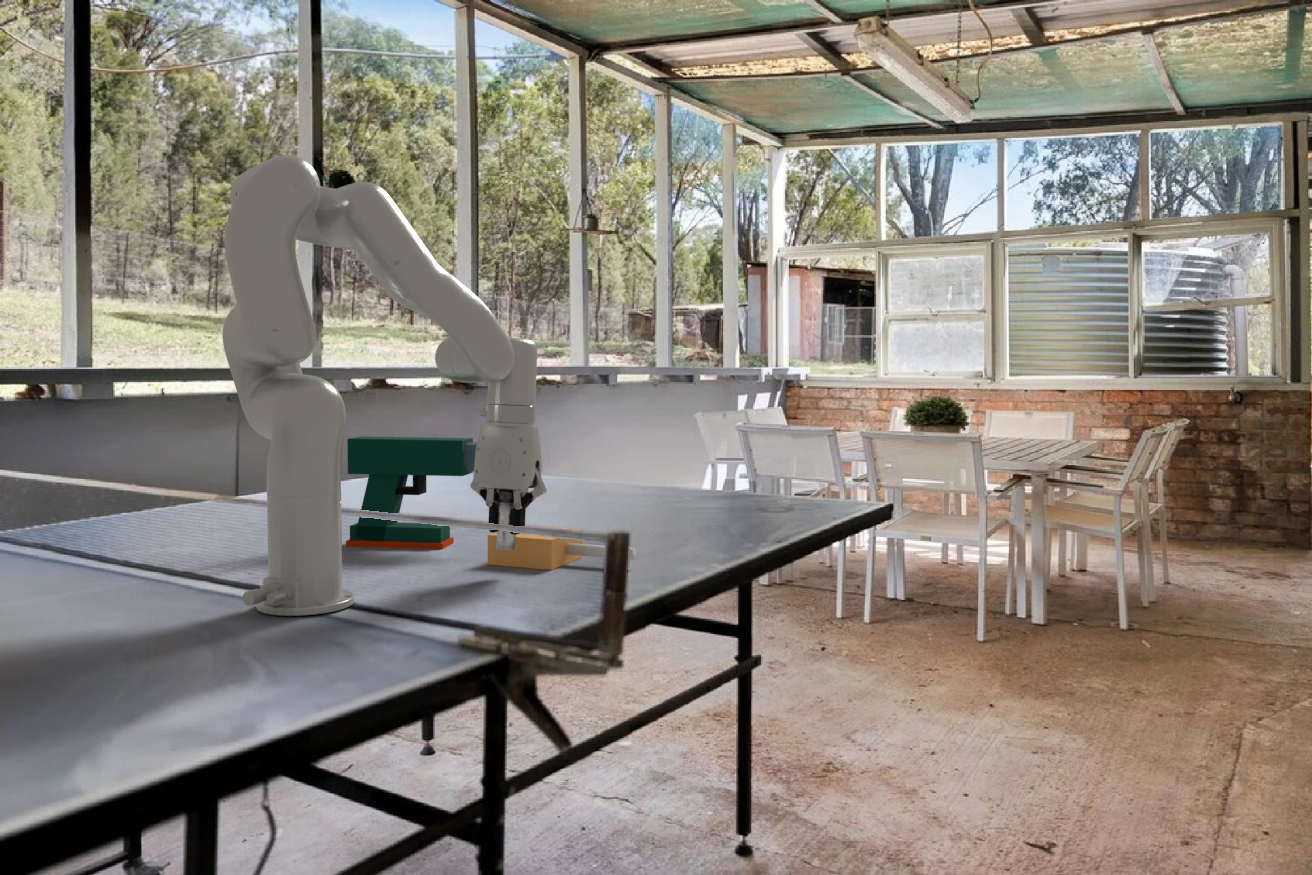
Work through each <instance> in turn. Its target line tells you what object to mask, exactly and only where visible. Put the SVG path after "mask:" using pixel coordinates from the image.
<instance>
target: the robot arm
mask: <svg viewBox="0 0 1312 875" xmlns="http://www.w3.org/2000/svg"><path fill="white" fill-rule="evenodd" d="M229 194H230V198H229V200H230V204H231V209H230V211H229V214H228V218H227V221H226V226H225V232H224V253H225V254H224V255H225V259H226V260H225V261H226V265H227V269H228V273H229V278H230V281H231V287H232V289H233V294H234V298H235V301H236V305H235V306H234V307H233V308H232V309H231V310H230V311H229V312H228V314H227V316H226V318H225V320H224V323H223V327H222V344H223V345H222V346H223V350H224V353H225V356H226V361H227V363H228V364H227V365H228V367H229V370H230V374H231V377H232V379H233V380H232V381H233V383H234V387H235V389H236V390H235V391H236V393H237V396H238V400H239V403H240V407H241V409H242V411H243V414H244V417H245V419H246V421H247V423H248V424H249V426H250V427H251V428H252V429H253V431H254V432H256V433H257V434H258V435H259V436H261V437H263V438H265V439H267V440H270V442H269V443H270V444H269V449H268V456H267V462H266V463H267V465H266V514H267V515H266V516H267V519H266V520H267V524H266V525H267V526H266V527H267V569H268V570H267V574H268V576H267V577H262V579H263V580H262V583H263V584H262V585H261V586H260V588H254V589H250V590H247V591H244V593H243V595H242V602H243V603H244V604H245V606H247V607H250V606H255V608H256V611H259V612H260V613H261V614H265V615H272V616H284V617H294V616H295V617H298V616H299V617H300V616H301V617H302V616H311V615H313V616H315V615H319V614H321V615H322V614H327V613H333V612H338V611H342V610H345V609H346V608H348V607H350V606H352V605H353V604H354V602H355V594H354V593H353V592H352V591H350V590H348V589H343V540H342V537H343V536H342V535H343V532H342V530H343V529H342V525H343V524H342V523H343V522H342V518H343V517H342V471H341V470H342V457H343V456H342V455H343V454H342V453H343V445H344V440H345V432H346V425H347V424H346V423H347V412H346V411H347V410H346V405H345V402H344V400H343V397H342V394H341V393H340V392H339V390H338V389H337V388H336V387H335V386H334V385H333V384H332V383H330V382H329V381H328V380H326V379H324V378H322V377H320V376H316V375H312V374H304V373H303V370H302V366H301V363H303V362H304V361H305V360H307V359H308V358H309V357H310V356H311V355H312V353H313V352H314V350H315V348H316V343H317V333H316V332H317V331H316V326H315V323H314V318H313V315H312V312H311V309H310V305H309V301H308V298H307V294H306V292H305V288H304V284H303V281H302V277H301V273H300V270H299V264H298V261H297V260H298V259H297V254H296V253H297V252H296V251H297V250H296V244H297V241H299V242H300V241H301V242H305V243H308V244H309V243H310V244H313V245H318V246H323V247H330V248H335V249H350V248H352V249H353V250H354V251H355V253H356V254H357V255H358V256H359V257H360V259H361V260H362V262H363V263H364V264H365V265H366V267H367V268H368V270H369V272H371V273H372V275H373V276H374V277H375V279H376V280H377V282H378V283H379V284H380V286H381V287H382V288H383V289H384V291H385V293H386V294H387V295H388V297H390V299H392V300H393V301H394V302H396V303H397V304H399V305H401V307H403V308H406V309H407V310H410V311H413V312H415V313H417V314H419V315H421V316H423V317H425V318H427V319H428V320H429V321H431V322H433V323H434V324H436V325H437V326H438V327H439V328H440V329H442V331H444V332H445V333H446V334H447V336H448V337H445V338H444V339H443V340H442V341H441V342H440V343H439V344H438V346H437V348H436V350H435V355H434V359H435V360H434V361H435V364H436V367H437V370H438V371H439V372H440V373H441V374H442V375H443V377H445V378H446V379H448V380H451V381H453V382H457V383H466V384H467V383H468V384H469V383H470V384H471V383H485V384H487V398H486V399H487V401H486V403H487V404H485V406H486V407H485V408H483V407H481V409H480V416H481V417H485V421H486V424H481V425H480V428H479V429H480V430H479V431H478V432H479V433H478V436H477V446H476V453H475V462H474V472H473V476H472V477H473V478H472V481H471V483H470V485H469V487H470V489H472V490H473V491H474V492H476V493H478V494H479V495H480V497H481V498H482V500H484V502H485V505H486V507H488V522H487V523H494V524H497V515H498V489H511V490H513V492H514V509H512V510H511V518H510V525H513V526H525V525H526V509H528V508H529V506H530V504H532V503H533V502H534V501H535V500H536V499H538V498H540V497H542V496H543V495H545V494H547V492H548V490H547V488H546V486H545V483H544V481H543V477H542V474H543V473H542V470H543V469H542V468H543V466H542V464H543V462H542V445H541V438H540V431H539V427H538V426H535V423H536V422H535V420H536V419H535V418H536V416H535V415H536V396H537V395H536V391H537V368H538V367H537V366H538V364H537V363H538V347H537V344H536V343H535V342H534V341H533V340H531V339H527V338H519V337H509V336H508V335H507V332H506V331H505V329H504V328H503V327H502V325H501V324H500V322H499V321H498V319H497V318H496V316H495V315H494V314H493V312H492V311H491V310H490V308H489V307H488V306H487V305H486V304H485V303H484V301H482V300H481V299H480V298H479V297H478V296H477V295H476V294H475V293H474V292H473V291H471V289H469V288H468V287H467V286H465V285H464V284H463V283H462V282H461V281H460V280H458V279H457V278H456V277H455V276H453V275H452V274H451V273H450V272H449V271H447V270H446V269H444V268H443V267H442V266H441V265H440V264H439V262H437V260H436V259H435V257H434V256H433V255H432V253H431V252H430V250H429V249H428V247H427V246H426V244H425V243H424V242H423V241H422V240H423V239H421V237H420V236H419V235H418V234H417V232H416V231H415V229H414V228H413V226H412V224H411V223H410V222H409V220H408V218H406V216H405V215H404V213H403V212H402V211H401V209H400V208H399V206H398V205H397V203H396V202H395V201H394V199H393V198H392V197H391V195H390V194H389V193H388V192H387V191H386V190H385V189H384V188H383V187H381V185H379V184H376V183H374V182H369V181H359V182H353V183H350V184H346V185H343V186H340V187H338V188H334V187H326V186H322V185H321V182H320V179H319V176H318V173H317V171H316V170H315V168H314V167H313V165H312V164H311V163H309V162H308V161H307V160H305V159H303V158H302V157H299V156H296V155H289V154H286V155H285V154H283V155H278V156H273V157H270V158H269V159H265V160H264V161H262V162H260V163H257V165H254V166H252V167H250V168H248V169H246V170H245V171H244V172H242V173H241V174H239V175H238V176H237V178H235V180H234V181H233V184H232V185H231V189H230V192H229ZM529 489H533V490H531V491H529ZM496 532H497V530H490V529H489V533H491V534H493V533H496ZM510 533H511V534H512V535H516V534H520V533H513V532H510Z"/></svg>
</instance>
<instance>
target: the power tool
mask: <svg viewBox="0 0 1312 875" xmlns="http://www.w3.org/2000/svg"><path fill="white" fill-rule="evenodd" d="M473 438H474V437H473ZM473 438H472V437H471V438H470V437H426V436H424V437H423V436H421V437H420V436H419V437H416V436H414V437H413V436H407V437H406V436H357V437H351V438H350V437H349V438H347V474H348V475H368V477H367V482H366V486H365V491H364V495H363V499H362V504H361V508H360V511H361V510H369V511H379V512H388V513H399V514H400V512H401V508H402V503H403V498H404V496H407V495H408V496H420V495H423V494H425V493H427V476H432V477H433V476H434V477H435V476H436V477H440V476H441V477H442V476H443V477H464V476H467V475H469V474H474V462H475V453H476V446H477V442H474V441H473V440H474V439H473ZM409 476H412V486H410V485H407V482H408V478H409ZM421 523H422V522H398V521H391V520H381V519H374V518H361V517H359V516H358V520H357V523H354V524H352V525H349V539H347V540H345V547H349V548H378V549H379V548H381V549H382V548H383V549H385V548H388V549H416V550H418V549H419V550H420V549H421V550H423V549H424V550H444V549H446V548H448V547H450V546H451V545H453V544H454V539H455V538H454V537H453V536H452V537H451V526H450V527H449V526H437V525H431V524H421Z"/></svg>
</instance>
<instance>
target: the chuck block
mask: <svg viewBox="0 0 1312 875" xmlns="http://www.w3.org/2000/svg"><path fill="white" fill-rule="evenodd" d="M525 526H532V525H530V524H529V525H527V524H525ZM539 526H540V527H546V526H543V525H539ZM552 527H553V528H560V526H559V527H557V526H556V527H555V526H552ZM561 528H562V529H572V530H583V528H571V527H561ZM496 542H497V532H494V533H489V534H487V565H489V566H490V565H491V566H502V567H503V566H504V567H512V568H525V569H536V570H545V571H547V570H549V571H553V570H555V569H557V568H558V569H559V568H560V567H563V566H565V565H567V564H570V563H572V562H574V561H577V560H579V559H582V558H583V557H589V558H600V559H601V558H603V559H605V558H604V556H605V546H606V545H597V544H585V543H583V541H578V540H573V539H560V538H552V537H544V536H538V535H523V534H516V545H515V550H498V549H496ZM629 548H630V552H629V560H628V561H634V560H635V558H636V548H633V547H629Z"/></svg>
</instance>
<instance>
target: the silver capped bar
mask: <svg viewBox="0 0 1312 875" xmlns="http://www.w3.org/2000/svg"><path fill="white" fill-rule="evenodd" d="M512 509H514V492H513V490H511V489H498V515H497V524H502V525H510V518H511V510H512ZM515 545H516V535H512V534H511V533H510V532H507V531H501V530H497V542H496V549H498V550H515Z"/></svg>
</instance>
